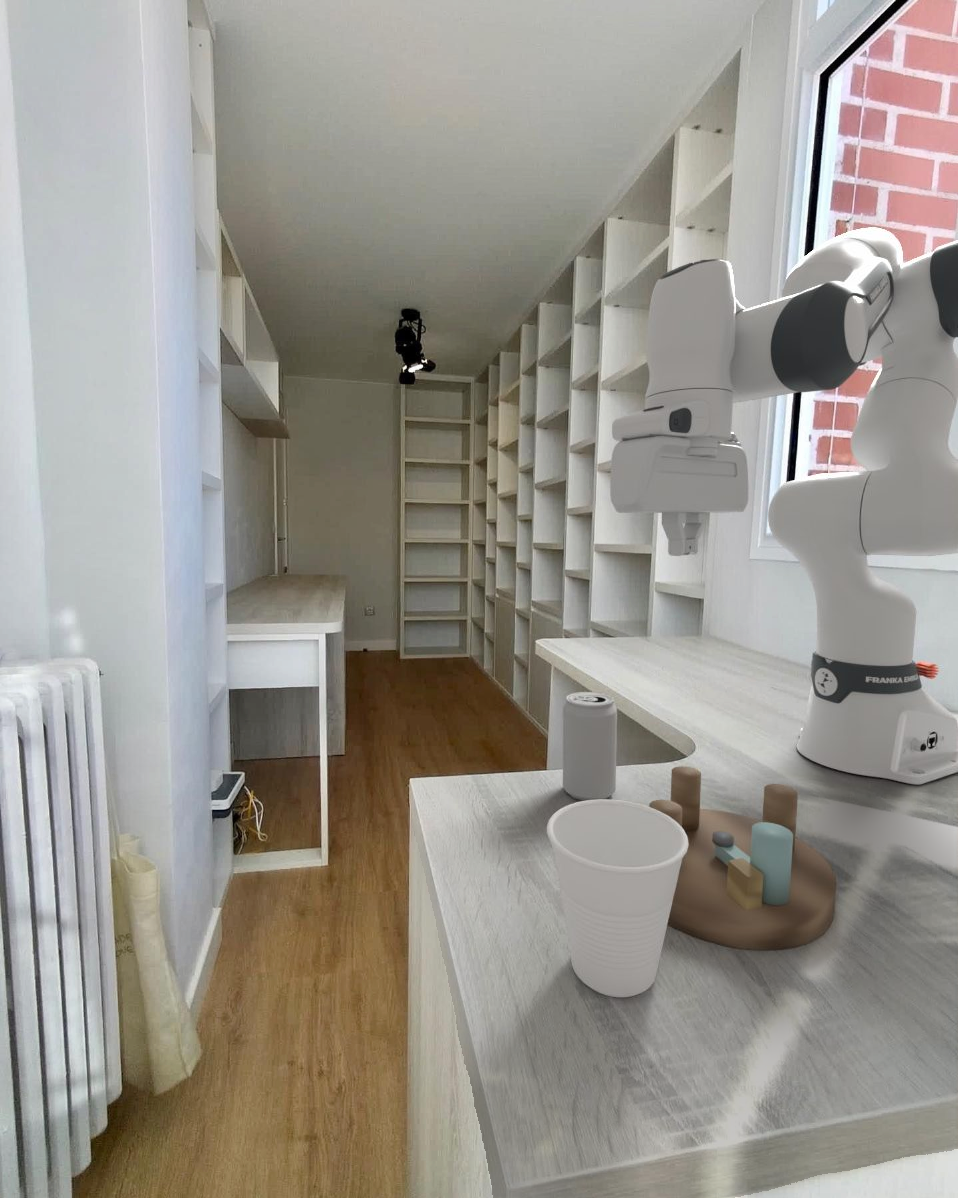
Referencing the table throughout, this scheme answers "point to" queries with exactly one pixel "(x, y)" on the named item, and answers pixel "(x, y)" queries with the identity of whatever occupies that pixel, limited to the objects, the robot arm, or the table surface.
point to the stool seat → (744, 875)
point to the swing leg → (763, 857)
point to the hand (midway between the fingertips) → (682, 555)
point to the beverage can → (589, 745)
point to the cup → (616, 889)
